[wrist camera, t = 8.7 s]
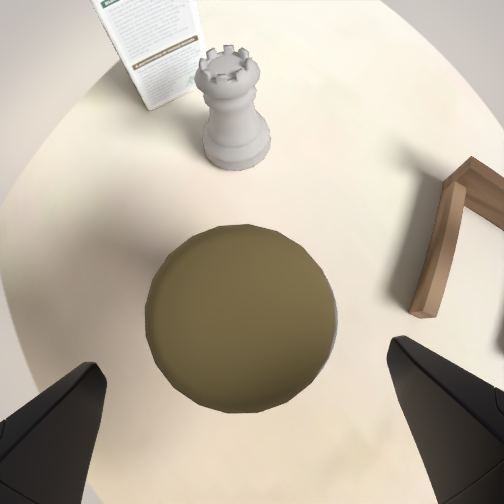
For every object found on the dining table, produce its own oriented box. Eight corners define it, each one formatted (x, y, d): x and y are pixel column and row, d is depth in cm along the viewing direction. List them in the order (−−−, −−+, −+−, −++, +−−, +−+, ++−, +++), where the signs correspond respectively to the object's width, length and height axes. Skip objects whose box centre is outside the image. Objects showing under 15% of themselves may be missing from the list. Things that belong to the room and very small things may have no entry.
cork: (300, 379, 17) (350, 452, 6) (193, 367, 17) (102, 418, 7) (310, 274, 18) (371, 203, 7) (205, 263, 19) (133, 184, 8)
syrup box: (216, 82, 22) (184, -86, 8) (147, 115, 22) (69, -41, 8) (189, 46, 24) (154, -93, 9) (128, 75, 23) (64, -57, 9)
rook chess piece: (222, 186, 20) (200, 108, 12) (194, 136, 21) (165, 55, 13) (283, 155, 21) (291, 71, 13) (250, 110, 21) (244, 24, 14)
